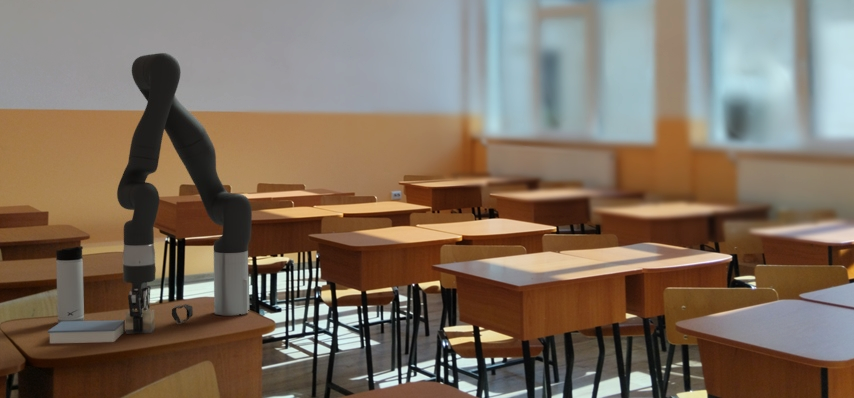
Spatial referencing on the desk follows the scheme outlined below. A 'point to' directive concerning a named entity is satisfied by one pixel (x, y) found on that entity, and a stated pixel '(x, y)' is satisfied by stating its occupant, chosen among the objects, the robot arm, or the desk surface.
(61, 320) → the travel mug
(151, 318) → the tan wooden block
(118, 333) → the textbook
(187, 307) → the wristwatch
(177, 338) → the desk surface
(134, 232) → the robot arm
